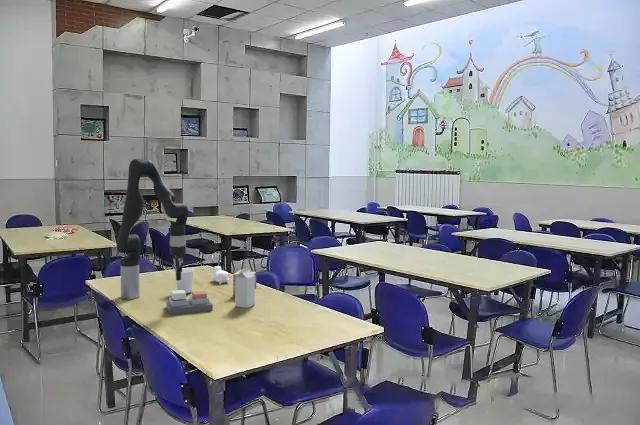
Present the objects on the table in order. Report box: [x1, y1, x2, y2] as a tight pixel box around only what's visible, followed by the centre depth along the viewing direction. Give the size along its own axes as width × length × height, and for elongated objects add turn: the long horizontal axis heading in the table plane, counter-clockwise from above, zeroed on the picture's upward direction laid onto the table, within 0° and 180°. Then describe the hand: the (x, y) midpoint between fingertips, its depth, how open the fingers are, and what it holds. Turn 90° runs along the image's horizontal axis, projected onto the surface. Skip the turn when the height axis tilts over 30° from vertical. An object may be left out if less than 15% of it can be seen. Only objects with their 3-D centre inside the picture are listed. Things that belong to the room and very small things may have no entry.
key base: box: [165, 295, 214, 316], centre depth 256 cm, size 20×14×6 cm
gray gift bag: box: [232, 268, 257, 297], centre depth 292 cm, size 21×6×12 cm, turn 169°
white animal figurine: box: [211, 265, 230, 285], centre depth 315 cm, size 9×8×15 cm
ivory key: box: [170, 289, 187, 300], centre depth 254 cm, size 6×6×3 cm
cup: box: [174, 267, 195, 295], centre depth 286 cm, size 10×10×13 cm
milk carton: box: [234, 267, 256, 309], centre depth 262 cm, size 7×7×19 cm
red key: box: [191, 290, 208, 299], centre depth 258 cm, size 6×6×3 cm
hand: (178, 280), depth 253 cm, fingers closed
